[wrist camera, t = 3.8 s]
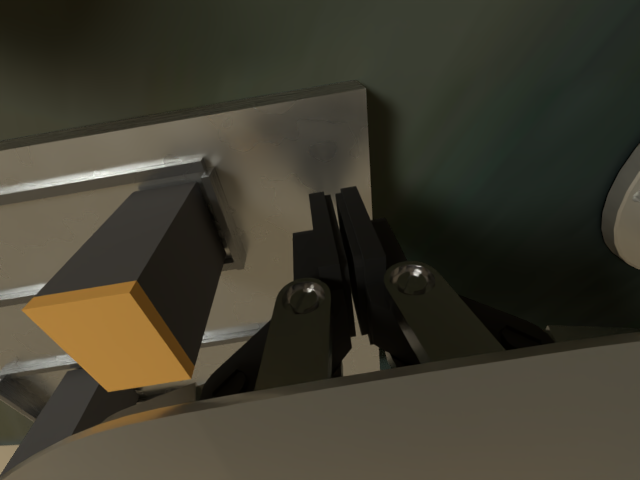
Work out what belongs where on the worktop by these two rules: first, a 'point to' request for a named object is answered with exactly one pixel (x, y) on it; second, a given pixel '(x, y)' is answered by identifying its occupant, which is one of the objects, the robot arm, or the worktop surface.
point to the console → (165, 170)
